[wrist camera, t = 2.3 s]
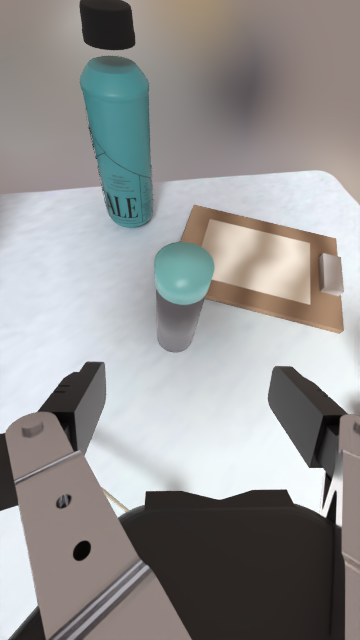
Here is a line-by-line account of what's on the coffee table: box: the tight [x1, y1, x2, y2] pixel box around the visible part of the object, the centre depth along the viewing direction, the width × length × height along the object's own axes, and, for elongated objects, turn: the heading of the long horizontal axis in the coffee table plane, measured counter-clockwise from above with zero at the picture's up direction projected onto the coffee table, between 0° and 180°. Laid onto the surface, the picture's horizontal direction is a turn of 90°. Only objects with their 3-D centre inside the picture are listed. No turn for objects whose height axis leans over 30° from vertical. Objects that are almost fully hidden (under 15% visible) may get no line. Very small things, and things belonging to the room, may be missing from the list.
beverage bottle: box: [80, 0, 153, 227], centre depth 27 cm, size 6×7×20 cm
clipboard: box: [180, 205, 344, 333], centre depth 33 cm, size 22×16×2 cm
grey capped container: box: [154, 242, 215, 352], centre depth 22 cm, size 4×4×12 cm
